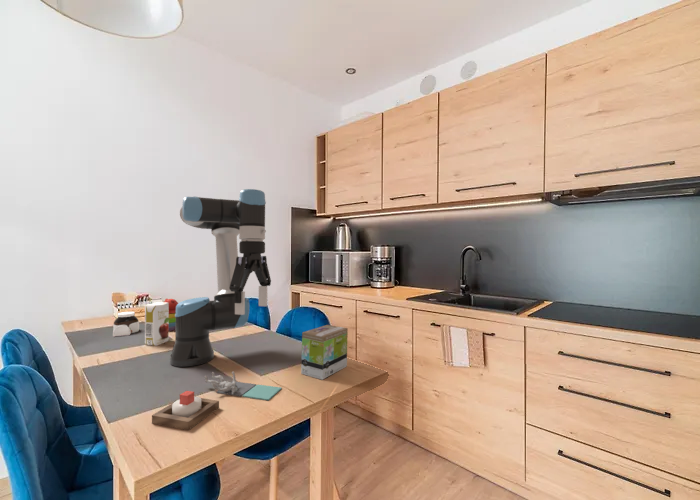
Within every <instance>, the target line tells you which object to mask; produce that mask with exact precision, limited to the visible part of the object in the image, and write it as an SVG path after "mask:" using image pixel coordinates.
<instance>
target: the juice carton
mask: <svg viewBox="0 0 700 500" xmlns="http://www.w3.org/2000/svg"><path fill="white" fill-rule="evenodd" d="M169 332H170V331H169V303H166V302H164V301H159V302H158V301H156V302H153V303H149V304H144V345H145V346H154V347H156V346H160V345H162V344H164V343H167V342H169Z"/></svg>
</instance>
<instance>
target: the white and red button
mask: <svg viewBox="0 0 700 500" xmlns="http://www.w3.org/2000/svg"><path fill="white" fill-rule="evenodd" d="M201 398H202V397H199V396H195V391H193V390H192V391H191V390H185V391H184V392H181V393H180V394H179V399H177V400H176V401H174V402H172V403H173V404H172V403H171V404H172V415H175V416H181V417H187V418H188V417H190V416H191V415H193V414H194V413H196V412H197V411H199V410H200V409H201Z"/></svg>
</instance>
